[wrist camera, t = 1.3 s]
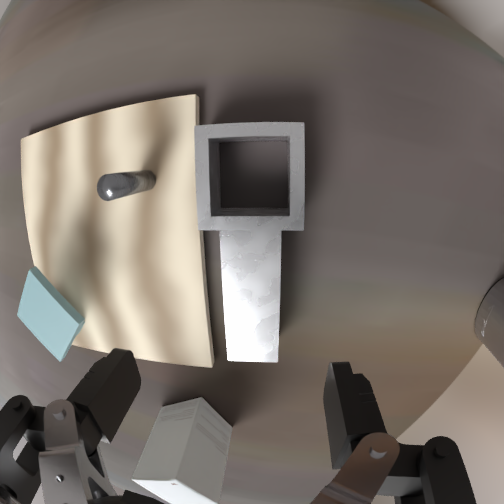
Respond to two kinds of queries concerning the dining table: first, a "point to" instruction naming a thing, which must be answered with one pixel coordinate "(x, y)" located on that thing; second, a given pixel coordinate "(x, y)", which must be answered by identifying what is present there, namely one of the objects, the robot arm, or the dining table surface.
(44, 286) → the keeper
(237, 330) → the link
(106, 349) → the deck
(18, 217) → the dining table surface
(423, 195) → the dining table surface
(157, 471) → the supplement box
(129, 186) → the cylinder
